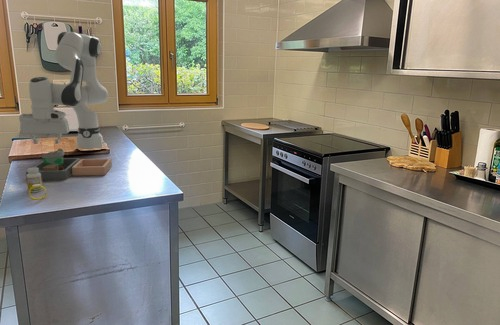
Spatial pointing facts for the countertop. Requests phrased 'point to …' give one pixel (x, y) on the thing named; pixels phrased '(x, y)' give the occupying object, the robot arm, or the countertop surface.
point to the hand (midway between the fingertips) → (46, 143)
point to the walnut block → (50, 168)
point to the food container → (54, 158)
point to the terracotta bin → (92, 167)
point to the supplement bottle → (34, 179)
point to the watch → (36, 187)
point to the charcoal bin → (60, 173)
